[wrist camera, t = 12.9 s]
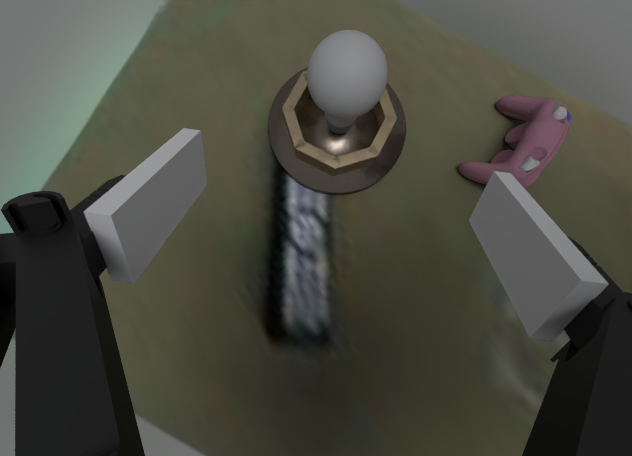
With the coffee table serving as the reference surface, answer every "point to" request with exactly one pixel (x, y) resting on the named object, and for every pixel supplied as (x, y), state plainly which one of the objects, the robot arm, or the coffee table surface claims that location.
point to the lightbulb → (346, 77)
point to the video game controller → (525, 140)
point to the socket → (334, 141)
